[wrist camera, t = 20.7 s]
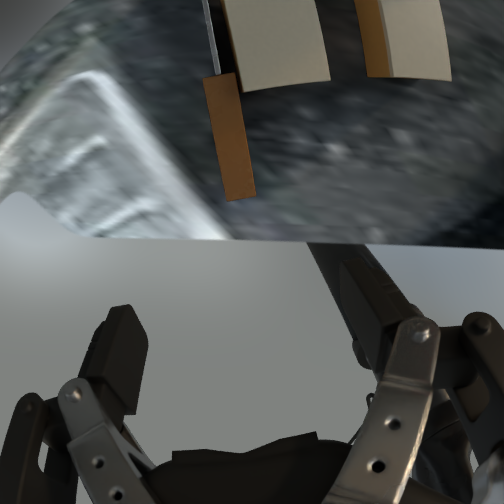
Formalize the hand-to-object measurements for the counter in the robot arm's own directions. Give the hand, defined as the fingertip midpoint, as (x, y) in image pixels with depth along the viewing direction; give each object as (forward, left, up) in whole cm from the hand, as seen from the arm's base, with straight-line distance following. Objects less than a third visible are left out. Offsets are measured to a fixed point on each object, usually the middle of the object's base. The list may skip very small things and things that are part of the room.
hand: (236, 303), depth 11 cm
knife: (+10, -1, -18) cm, 21 cm away
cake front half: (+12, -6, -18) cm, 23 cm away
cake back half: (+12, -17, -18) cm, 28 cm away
